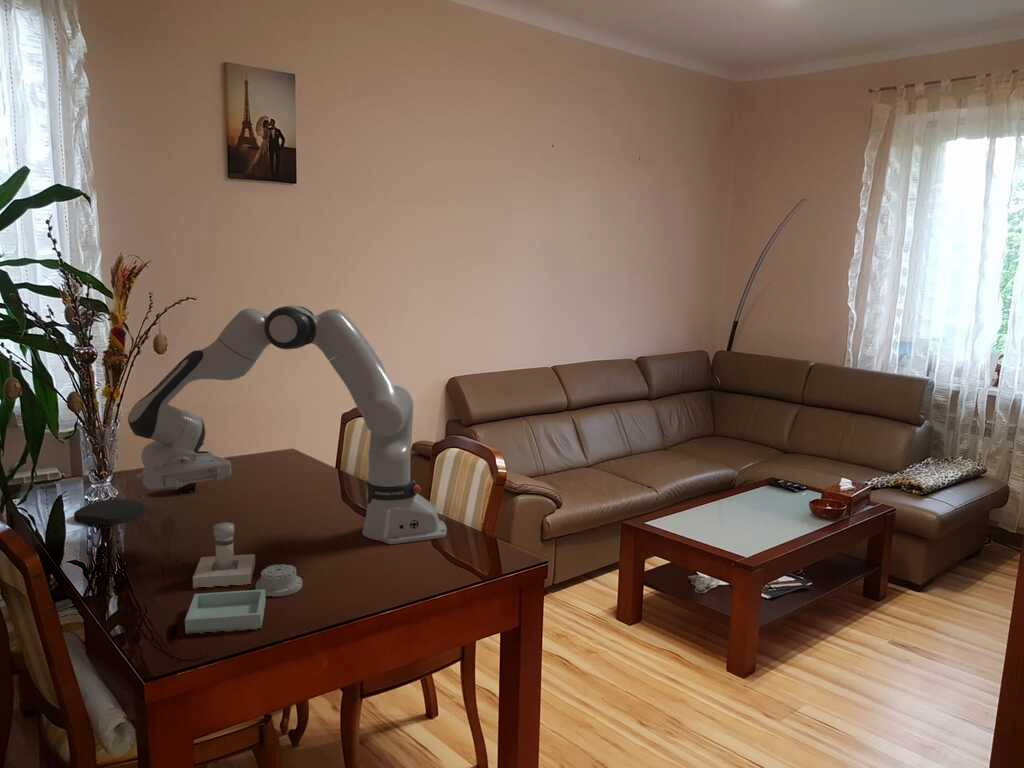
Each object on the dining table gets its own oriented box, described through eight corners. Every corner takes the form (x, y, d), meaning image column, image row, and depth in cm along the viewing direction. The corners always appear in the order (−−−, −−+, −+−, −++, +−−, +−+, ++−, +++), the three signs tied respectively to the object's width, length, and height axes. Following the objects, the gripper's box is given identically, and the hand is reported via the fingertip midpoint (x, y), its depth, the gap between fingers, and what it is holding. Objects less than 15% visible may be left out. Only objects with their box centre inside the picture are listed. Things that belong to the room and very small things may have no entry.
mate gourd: (169, 493, 237) (167, 445, 235) (187, 486, 245) (185, 440, 242) (189, 496, 235) (187, 447, 233) (207, 489, 243) (205, 442, 240)
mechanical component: (288, 575, 180) (247, 587, 173) (288, 557, 179) (247, 568, 172) (310, 589, 173) (268, 602, 166) (310, 570, 172) (268, 582, 165)
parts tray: (265, 602, 165) (265, 589, 164) (261, 628, 153) (260, 614, 153) (195, 607, 162) (194, 593, 161) (185, 634, 150) (184, 620, 150)
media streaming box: (115, 528, 207) (114, 517, 207) (67, 523, 210) (66, 512, 210) (150, 511, 222) (150, 501, 221) (105, 506, 224) (105, 496, 224)
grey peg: (236, 571, 181) (235, 522, 179) (234, 579, 176) (232, 528, 174) (216, 572, 180) (214, 522, 178) (213, 580, 175) (212, 529, 173)
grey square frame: (255, 564, 185) (254, 554, 185) (250, 584, 174) (250, 574, 173) (201, 567, 182) (201, 557, 182) (193, 588, 171) (192, 577, 170)
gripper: (133, 462, 186) (154, 474, 176) (217, 450, 200) (240, 461, 190) (134, 487, 187) (154, 501, 177) (217, 473, 201) (241, 486, 191)
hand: (200, 480), depth 183 cm, fingers open, 8 cm apart
